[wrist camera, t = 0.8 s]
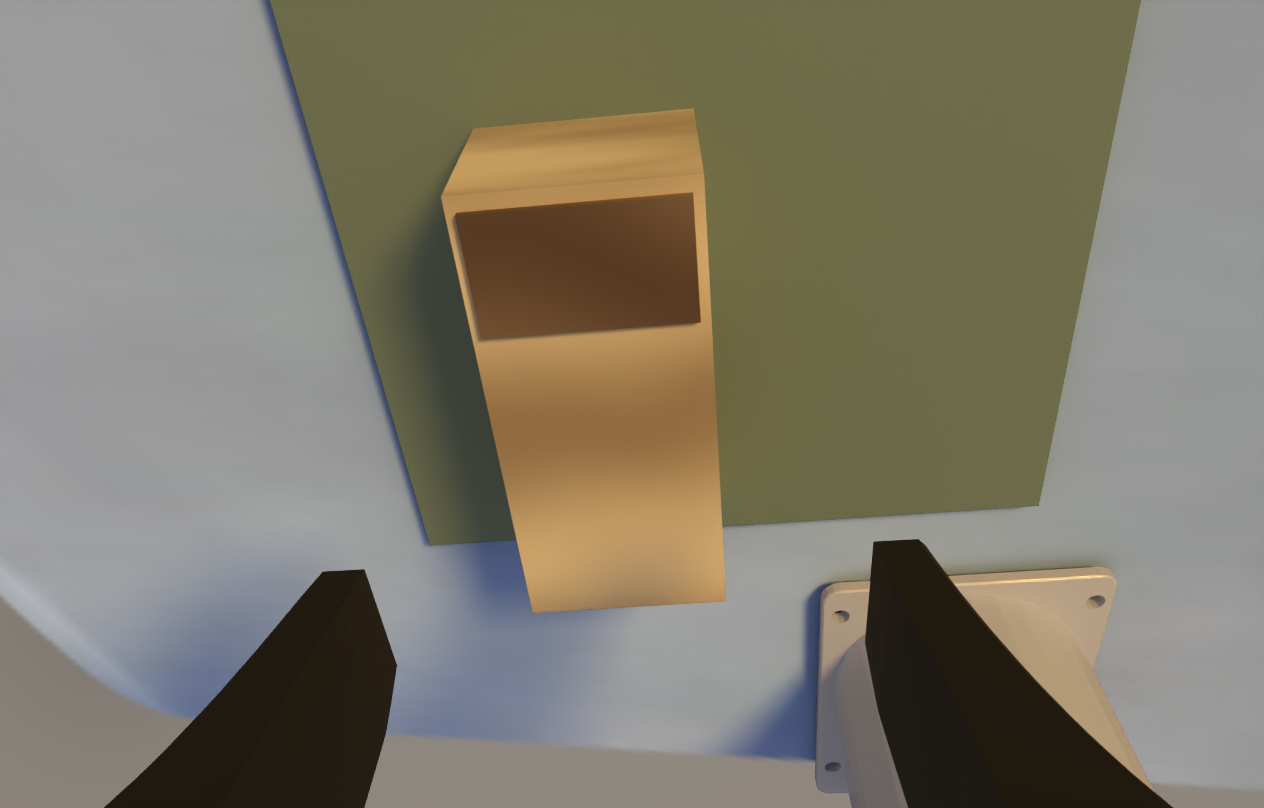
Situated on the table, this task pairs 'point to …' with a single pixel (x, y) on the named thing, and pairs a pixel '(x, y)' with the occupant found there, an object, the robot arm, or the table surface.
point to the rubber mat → (754, 223)
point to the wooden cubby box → (596, 352)
